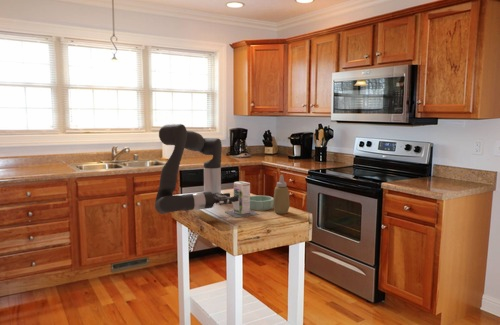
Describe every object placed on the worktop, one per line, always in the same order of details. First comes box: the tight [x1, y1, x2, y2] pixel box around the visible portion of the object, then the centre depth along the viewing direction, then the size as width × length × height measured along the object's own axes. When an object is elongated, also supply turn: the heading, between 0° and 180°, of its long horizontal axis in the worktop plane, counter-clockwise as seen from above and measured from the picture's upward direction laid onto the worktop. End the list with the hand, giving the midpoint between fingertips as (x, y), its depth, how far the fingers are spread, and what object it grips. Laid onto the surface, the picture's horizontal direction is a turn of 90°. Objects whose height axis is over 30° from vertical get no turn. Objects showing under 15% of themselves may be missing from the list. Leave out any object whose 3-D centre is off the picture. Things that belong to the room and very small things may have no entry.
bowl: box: [250, 195, 274, 211], centre depth 198 cm, size 14×14×4 cm
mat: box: [224, 210, 260, 219], centre depth 185 cm, size 12×12×1 cm
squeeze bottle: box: [273, 174, 291, 215], centre depth 185 cm, size 8×8×18 cm
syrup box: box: [233, 181, 251, 215], centre depth 184 cm, size 6×6×14 cm
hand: (233, 196), depth 182 cm, fingers open, 8 cm apart
